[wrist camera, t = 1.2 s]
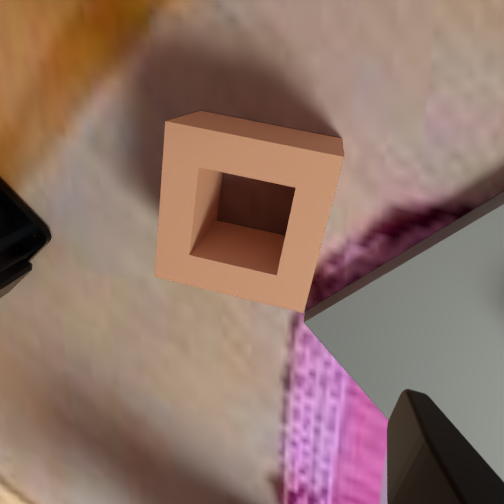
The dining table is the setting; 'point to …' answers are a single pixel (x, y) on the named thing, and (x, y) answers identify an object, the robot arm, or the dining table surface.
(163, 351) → the dining table surface
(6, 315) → the dining table surface
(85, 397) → the dining table surface
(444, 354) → the post plate
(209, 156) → the collar
